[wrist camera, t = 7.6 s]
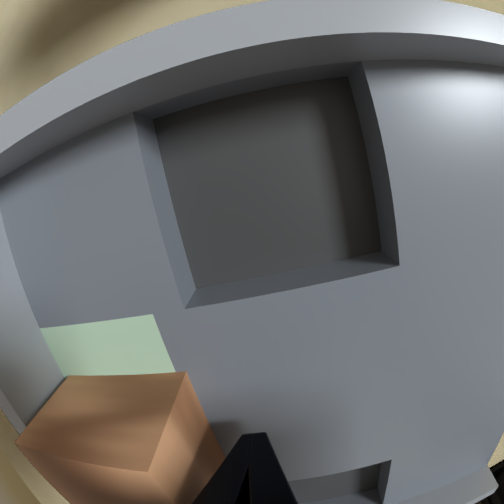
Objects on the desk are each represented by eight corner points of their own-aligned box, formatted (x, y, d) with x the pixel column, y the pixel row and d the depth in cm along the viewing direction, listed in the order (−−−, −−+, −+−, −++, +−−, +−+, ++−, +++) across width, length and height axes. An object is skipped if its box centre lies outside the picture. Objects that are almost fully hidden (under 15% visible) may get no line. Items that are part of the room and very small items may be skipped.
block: (186, 371, 9) (147, 472, 5) (228, 463, 10) (216, 545, 6) (69, 375, 9) (14, 442, 6) (123, 459, 11) (94, 524, 7)
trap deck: (491, 57, 7) (574, 28, 2) (471, 452, 13) (498, 504, 8) (10, 163, 9) (-82, 175, 5) (175, 506, 15) (160, 562, 10)
